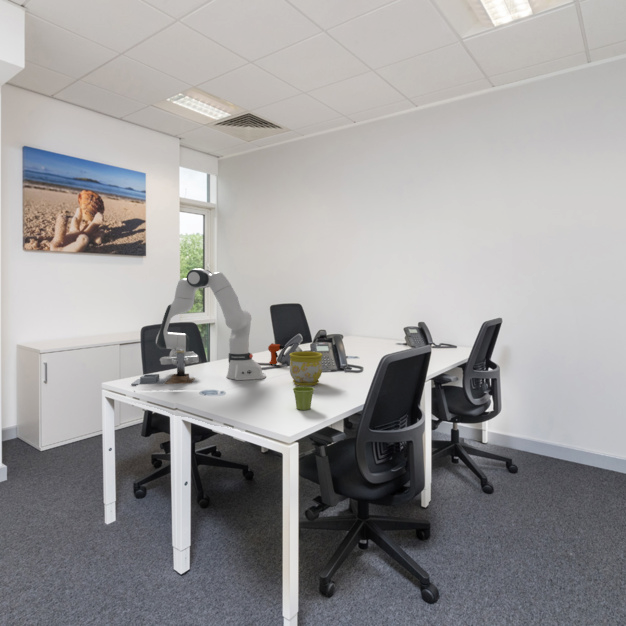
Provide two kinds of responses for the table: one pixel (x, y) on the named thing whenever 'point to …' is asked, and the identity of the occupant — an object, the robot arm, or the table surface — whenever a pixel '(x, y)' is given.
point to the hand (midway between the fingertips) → (180, 361)
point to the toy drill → (274, 352)
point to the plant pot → (303, 397)
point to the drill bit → (180, 362)
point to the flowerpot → (305, 367)
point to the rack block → (149, 379)
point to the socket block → (180, 379)
